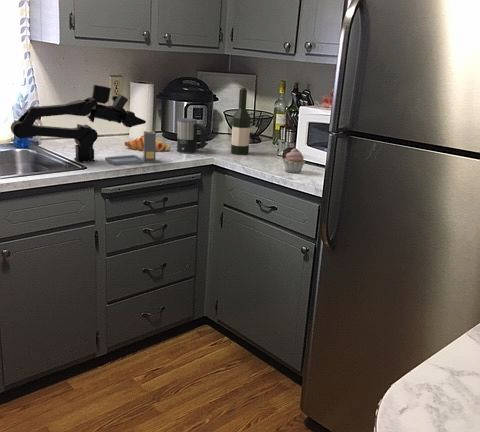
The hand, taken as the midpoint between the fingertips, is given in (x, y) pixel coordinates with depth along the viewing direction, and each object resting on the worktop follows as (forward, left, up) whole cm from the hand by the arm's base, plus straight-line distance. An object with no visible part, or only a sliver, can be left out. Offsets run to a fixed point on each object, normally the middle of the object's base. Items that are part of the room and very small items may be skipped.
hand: (141, 120), depth 239 cm
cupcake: (+47, -46, -16) cm, 67 cm away
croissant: (+10, +14, -16) cm, 24 cm away
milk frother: (+29, +6, -16) cm, 34 cm away
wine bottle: (+47, -7, -16) cm, 50 cm away
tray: (-10, -6, -16) cm, 20 cm away
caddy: (0, -7, -16) cm, 17 cm away
